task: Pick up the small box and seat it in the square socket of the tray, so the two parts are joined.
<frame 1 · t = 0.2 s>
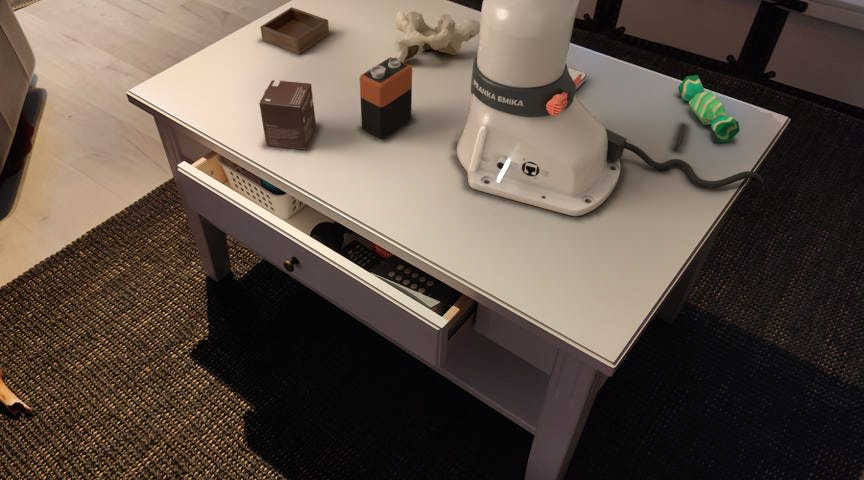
smartphone: (533, 76, 114), on the table
stick: (677, 131, 101), point 1 cm above the table
battery: (386, 125, 105), on the table
box: (291, 137, 104), on the table
candy: (693, 110, 104), point 2 cm above the table
tray: (295, 37, 122), on the table
decorative object: (425, 54, 118), on the table
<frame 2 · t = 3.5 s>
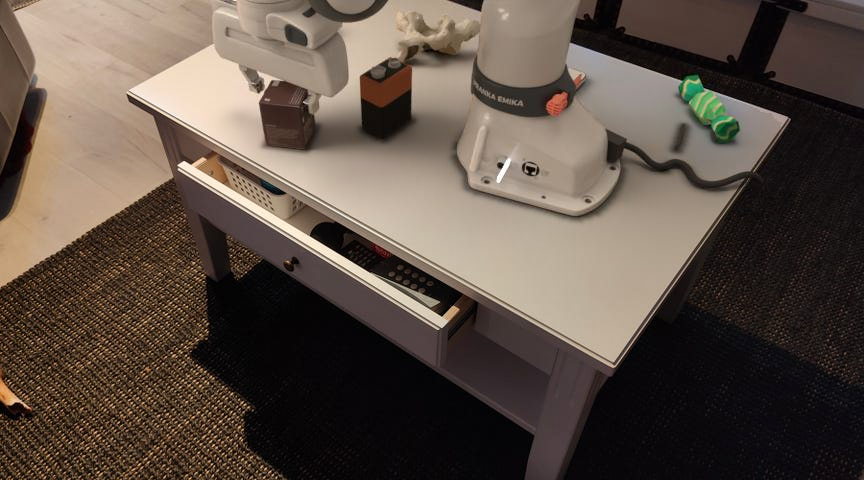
hand: (284, 100, 100), 6 cm above the table, tool pointing down, fingers open, 8 cm apart
nothing on the table moved.
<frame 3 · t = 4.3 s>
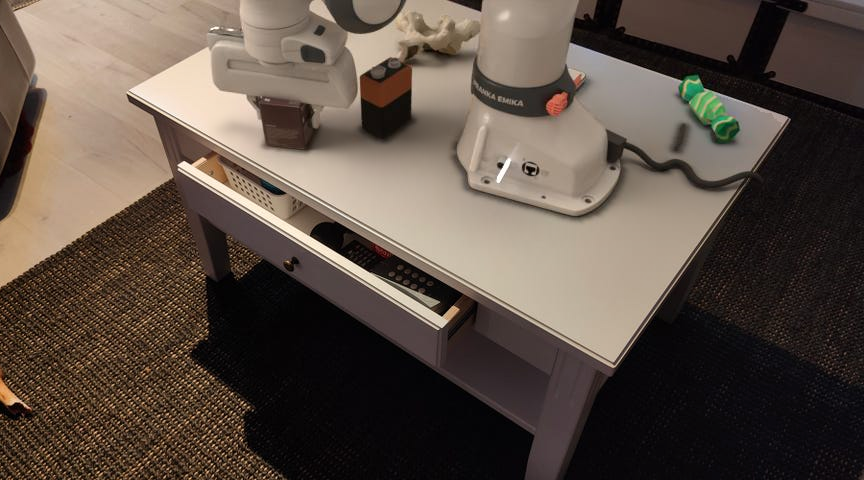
hand: (289, 121, 102), 2 cm above the table, tool pointing down, fingers closed on box, 6 cm apart
box: (291, 137, 104), on the table, touching gripper
everything else where it was.
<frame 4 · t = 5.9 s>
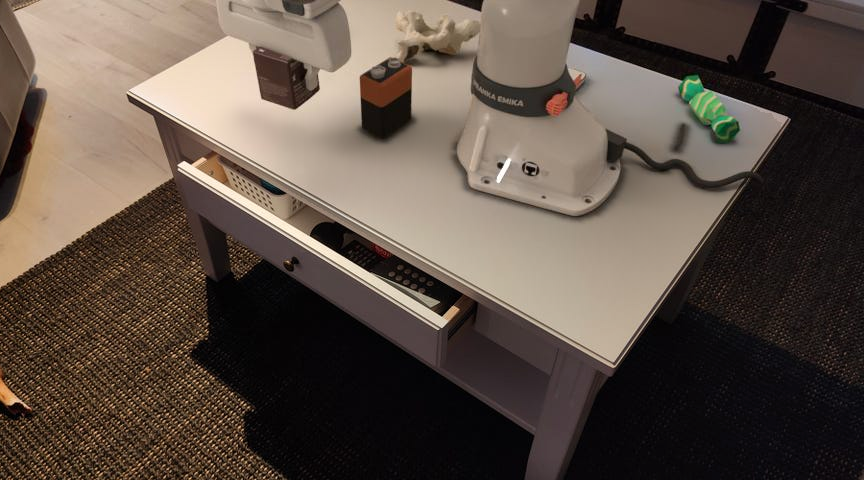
hand: (289, 79, 97), 9 cm above the table, tool pointing down, fingers closed on box, 6 cm apart
box: (291, 96, 98), point 7 cm above the table, touching gripper
everything else where it was.
when the fingers open (3 cm above the table, at t = 12.0 s): box stays where it is, resting on tray.
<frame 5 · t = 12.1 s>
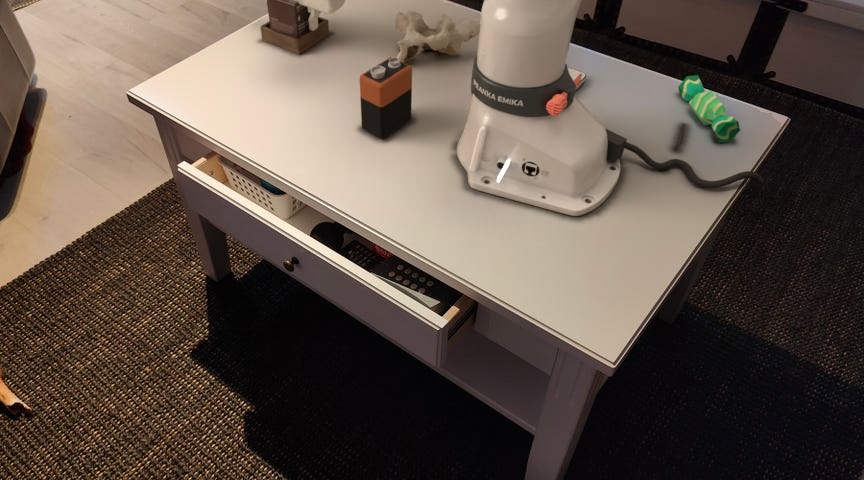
hand: (294, 22, 120), 3 cm above the table, tool pointing down, fingers open, 6 cm apart
box: (295, 35, 122), resting on tray
everything else where it was.
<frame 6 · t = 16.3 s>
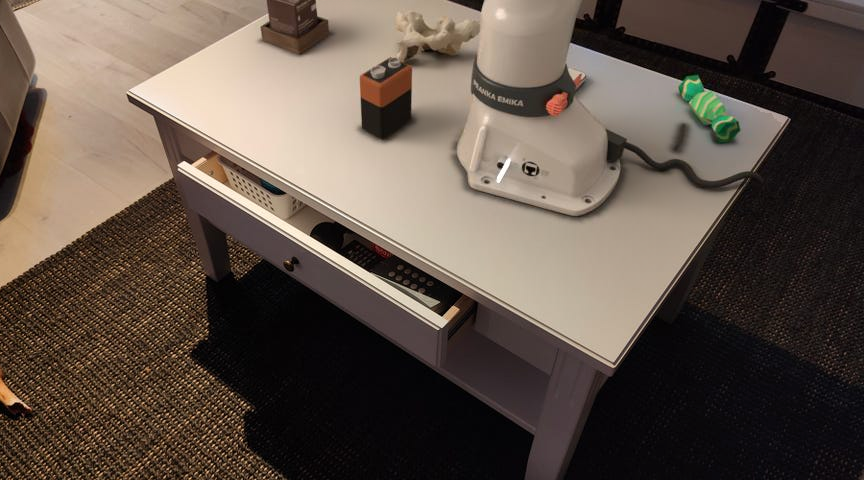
nothing on the table moved.
at the end: box 0.1 cm off-centre in the tray, point 0.4 cm above the tray's base; box tilted 0°; the gripper is holding nothing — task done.
